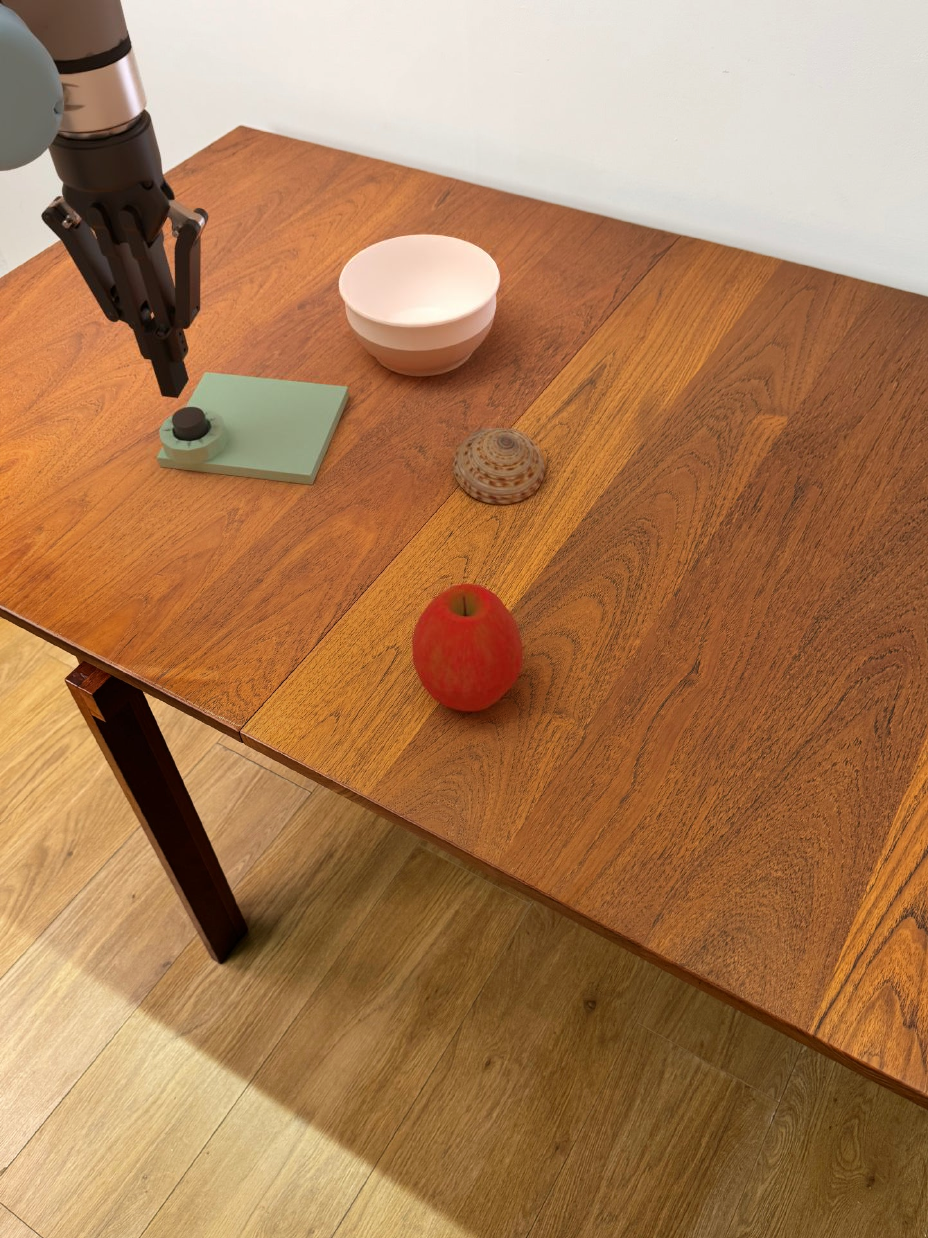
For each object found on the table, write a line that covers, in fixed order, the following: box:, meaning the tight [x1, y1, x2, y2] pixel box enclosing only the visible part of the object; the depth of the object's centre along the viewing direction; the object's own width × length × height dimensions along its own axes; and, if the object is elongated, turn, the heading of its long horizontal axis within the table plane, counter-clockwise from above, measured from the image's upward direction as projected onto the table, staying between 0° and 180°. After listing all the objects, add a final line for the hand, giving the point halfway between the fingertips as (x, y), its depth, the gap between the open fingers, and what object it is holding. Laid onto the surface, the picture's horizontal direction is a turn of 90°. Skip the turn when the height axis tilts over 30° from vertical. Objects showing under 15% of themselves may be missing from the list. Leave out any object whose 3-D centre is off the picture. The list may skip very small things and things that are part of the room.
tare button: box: [171, 406, 208, 442], centre depth 92 cm, size 3×3×2 cm
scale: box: [156, 371, 350, 486], centre depth 95 cm, size 15×13×3 cm
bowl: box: [338, 234, 501, 377], centre depth 102 cm, size 16×16×8 cm
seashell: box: [452, 427, 545, 505], centre depth 91 cm, size 8×6×8 cm
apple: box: [411, 582, 524, 712], centre depth 73 cm, size 8×8×11 cm
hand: (175, 387), depth 89 cm, fingers closed
